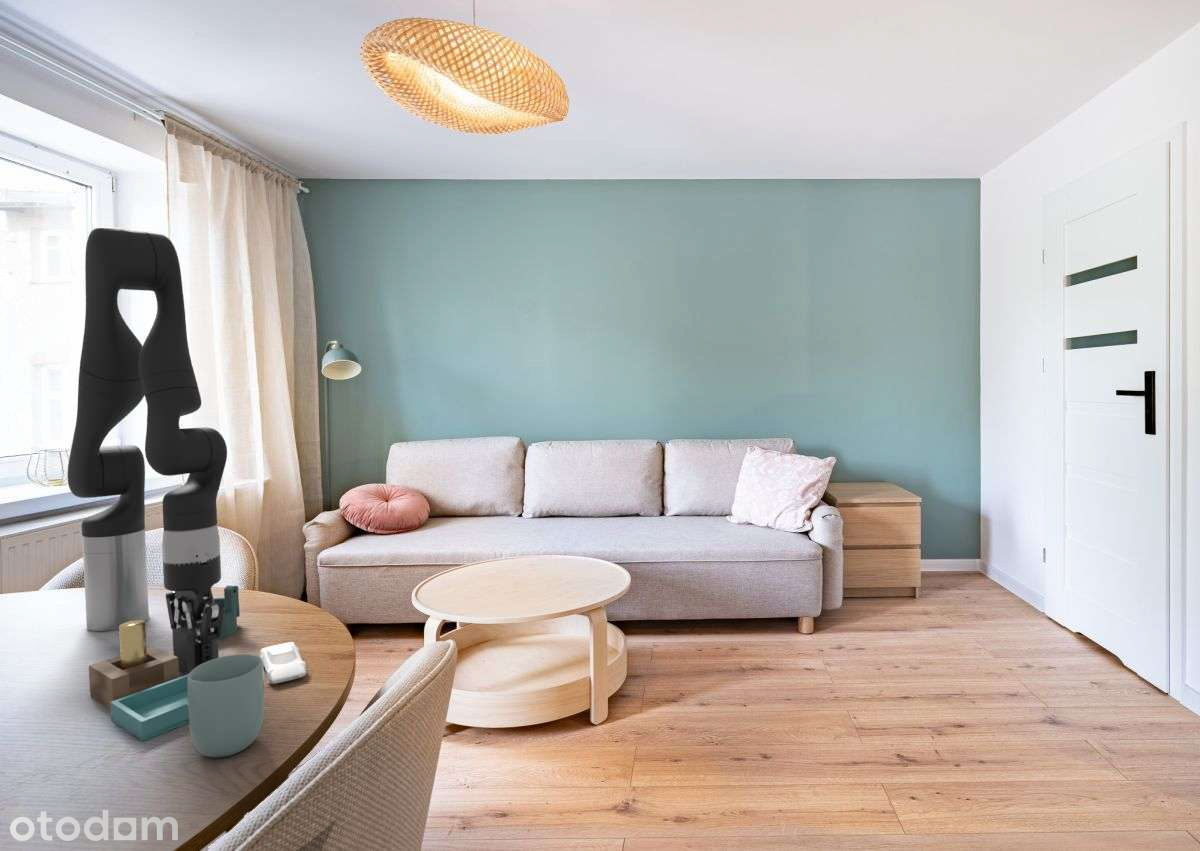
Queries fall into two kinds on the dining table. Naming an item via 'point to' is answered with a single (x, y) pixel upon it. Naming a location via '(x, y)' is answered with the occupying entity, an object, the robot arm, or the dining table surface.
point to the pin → (132, 644)
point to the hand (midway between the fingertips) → (196, 660)
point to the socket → (131, 675)
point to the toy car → (282, 662)
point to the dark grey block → (188, 648)
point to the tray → (153, 709)
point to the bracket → (229, 610)
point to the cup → (225, 704)
